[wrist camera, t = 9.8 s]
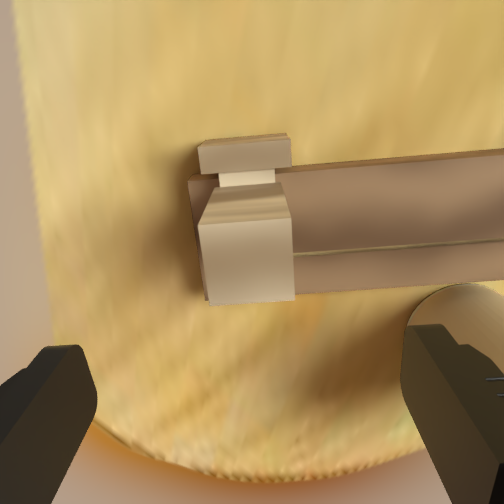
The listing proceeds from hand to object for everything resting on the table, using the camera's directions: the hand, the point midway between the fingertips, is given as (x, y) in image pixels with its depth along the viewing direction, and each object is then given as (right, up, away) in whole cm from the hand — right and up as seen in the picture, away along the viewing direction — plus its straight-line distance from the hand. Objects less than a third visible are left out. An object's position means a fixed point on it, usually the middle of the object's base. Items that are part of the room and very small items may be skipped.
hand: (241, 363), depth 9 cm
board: (+7, +5, +15) cm, 18 cm away
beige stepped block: (0, +5, +15) cm, 16 cm away
